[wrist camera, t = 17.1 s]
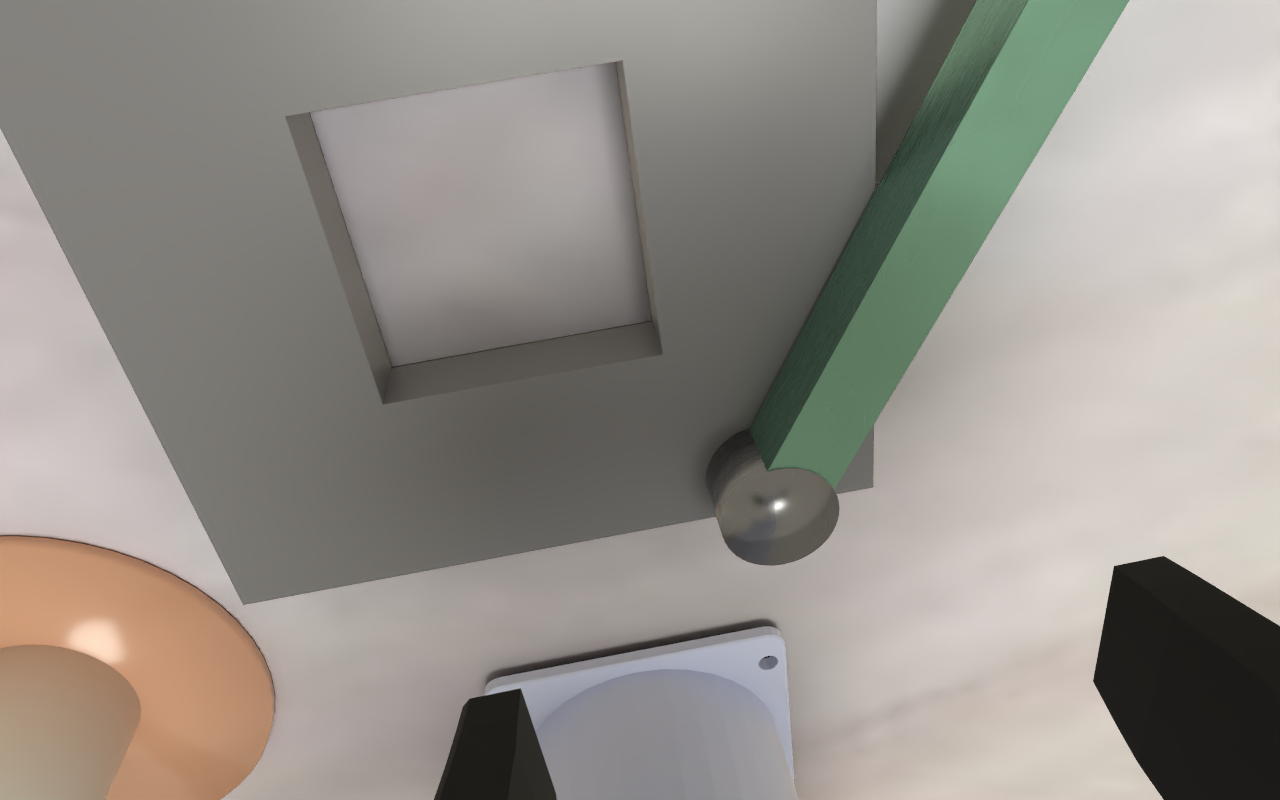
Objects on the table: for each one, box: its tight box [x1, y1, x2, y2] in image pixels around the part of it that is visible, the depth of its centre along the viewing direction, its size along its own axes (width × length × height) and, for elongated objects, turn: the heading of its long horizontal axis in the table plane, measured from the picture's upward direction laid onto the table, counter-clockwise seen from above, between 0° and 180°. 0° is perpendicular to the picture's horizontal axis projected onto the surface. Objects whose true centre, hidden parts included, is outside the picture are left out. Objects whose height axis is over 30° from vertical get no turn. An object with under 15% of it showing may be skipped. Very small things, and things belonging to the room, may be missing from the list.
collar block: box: [0, 0, 877, 605], centre depth 16 cm, size 14×14×2 cm
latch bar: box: [706, 0, 1129, 565], centre depth 15 cm, size 18×2×2 cm, turn 158°
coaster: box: [0, 536, 275, 800], centre depth 21 cm, size 10×10×1 cm
